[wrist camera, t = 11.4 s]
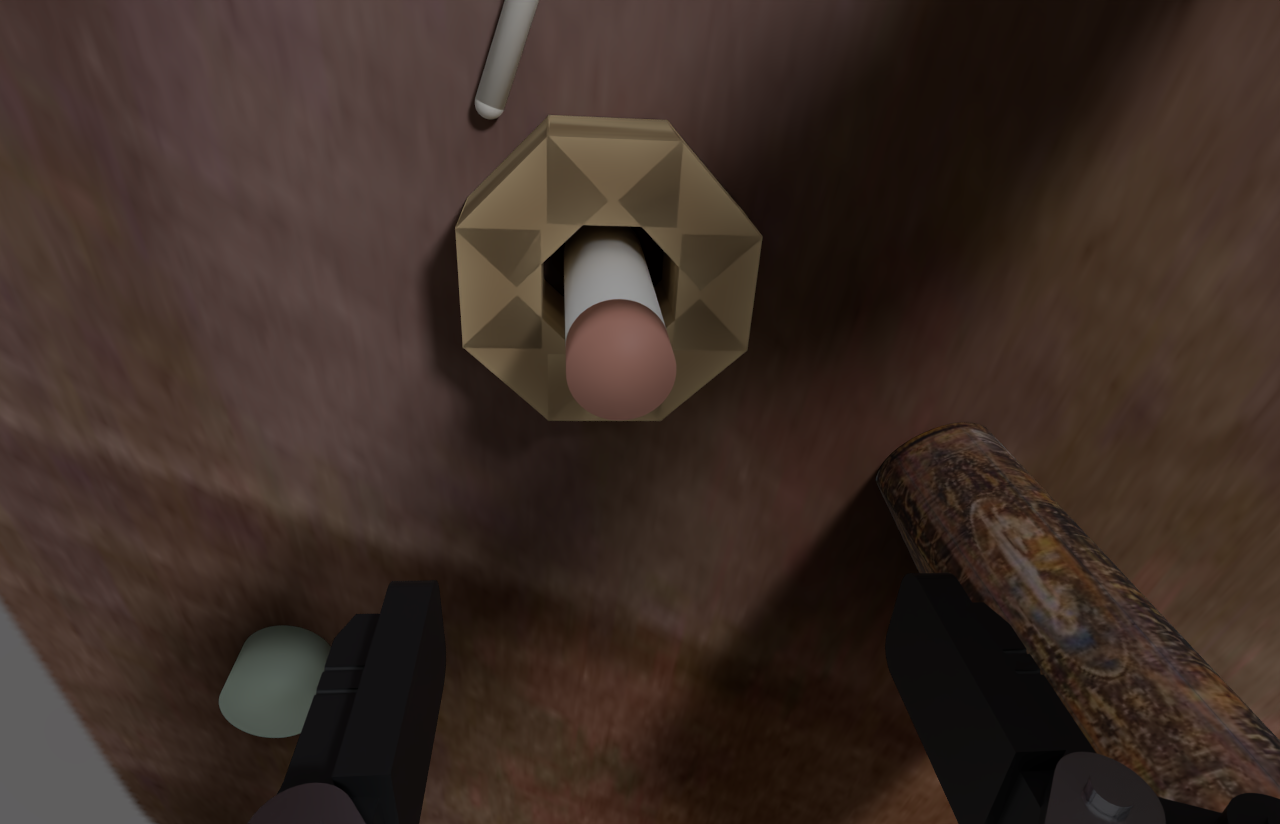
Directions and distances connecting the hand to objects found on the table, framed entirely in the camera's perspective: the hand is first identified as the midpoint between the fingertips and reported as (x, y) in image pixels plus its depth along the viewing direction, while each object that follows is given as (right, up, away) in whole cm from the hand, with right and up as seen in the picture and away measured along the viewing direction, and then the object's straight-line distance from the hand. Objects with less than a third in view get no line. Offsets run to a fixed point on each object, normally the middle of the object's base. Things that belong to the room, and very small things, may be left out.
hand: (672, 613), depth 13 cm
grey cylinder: (-2, +9, +16) cm, 19 cm away
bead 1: (-18, -9, +25) cm, 32 cm away
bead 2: (-2, +9, +16) cm, 19 cm away
